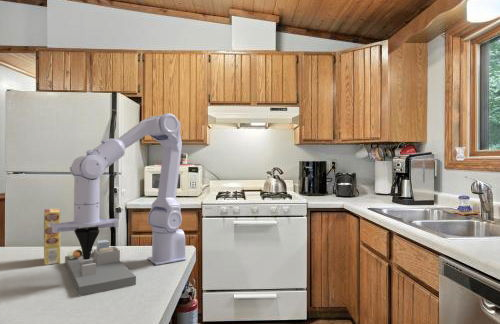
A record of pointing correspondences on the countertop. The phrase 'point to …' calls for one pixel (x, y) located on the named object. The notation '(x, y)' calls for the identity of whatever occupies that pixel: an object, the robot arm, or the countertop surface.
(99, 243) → the block
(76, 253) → the lever
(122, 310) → the countertop surface
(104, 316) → the countertop surface
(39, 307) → the countertop surface
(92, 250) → the block
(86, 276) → the panel
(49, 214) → the candy box
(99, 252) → the button
